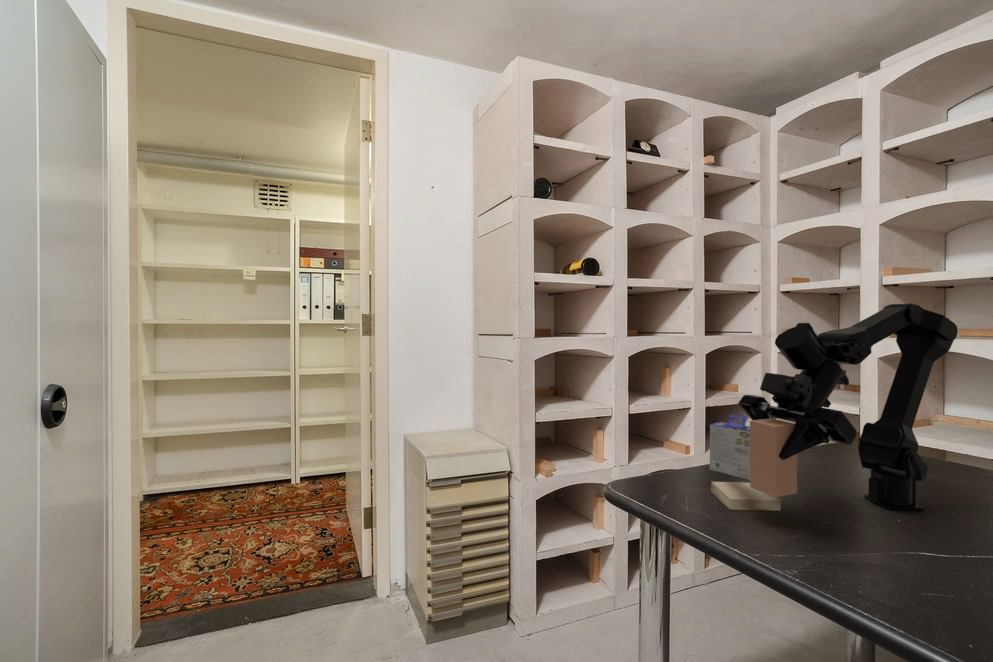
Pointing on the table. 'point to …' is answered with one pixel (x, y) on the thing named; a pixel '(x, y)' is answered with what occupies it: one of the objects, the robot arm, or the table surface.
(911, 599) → the table surface
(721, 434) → the ink cartridge box
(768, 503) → the top slab
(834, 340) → the robot arm
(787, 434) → the column
